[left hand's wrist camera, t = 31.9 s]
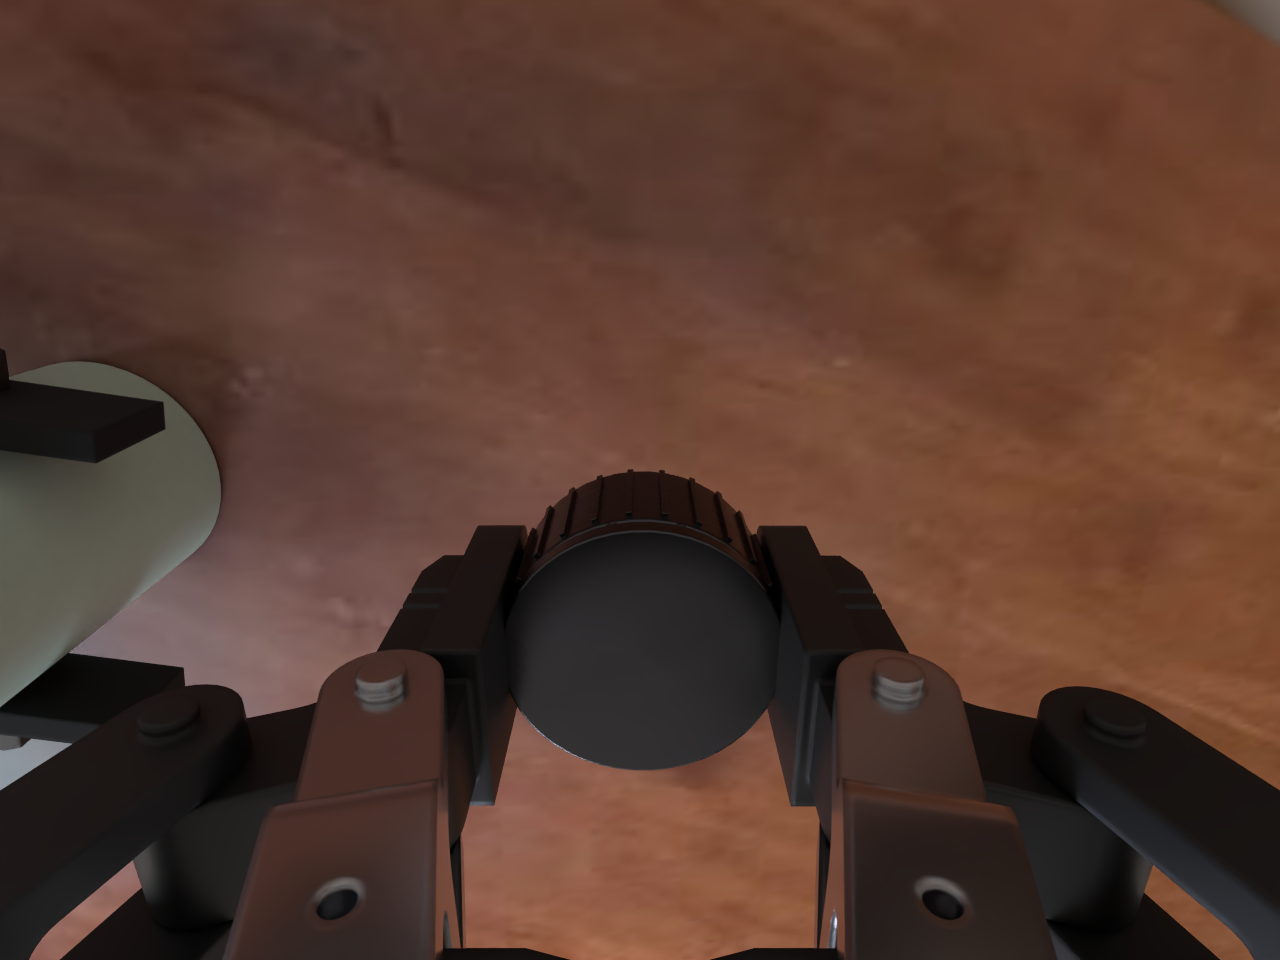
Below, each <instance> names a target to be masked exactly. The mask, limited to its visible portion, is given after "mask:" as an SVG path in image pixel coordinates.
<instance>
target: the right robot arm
mask: <svg viewBox="0 0 1280 960" xmlns="http://www.w3.org/2000/svg"><path fill="white" fill-rule="evenodd" d="M165 429H166V427H165V414H164V402H162V401H155V400H148V399H141V398H134V397H127V396H120V395H113V394H106V393H99V392H92V391H85V390H78V389H71V388H64V387H57V386H50V385H43V384H36V383H29V382H22V381H15V380H9V374H8V367H7V360H6V354H5V351H4V350H2V349H0V450H2V451H9V452H16V453H23V454H31V455H38V456H45V457H52V458H60V459H67V460H74V461H81V462H88V463H98V462H100V461H103V460H105V459H107V458H109V457H111V456H113V455H115V454H117V453H119V452H121V451H123V450H125V449H127V448H129V447H131V446H133V445H135V444H137V443H139V442H141V441H143V440H145V439H147V438H149V437H151V436H153V435H155V434H157V433H159V432H161V431H163V430H165ZM180 687H185V679H184V668H182V667H174V666H167V665H159V664H151V663H143V662H135V661H127V660H119V659H111V658H104V657H96V656H88V655H80V654H72V653H67V654H66V655H65V656H64V657H62V658H61V659H60V660H58V661H57V662H56V663H55V664H53V665H52V666H51V667H50V668H48V669H47V670H46V671H45V672H43V673H42V674H41V675H40V676H38V677H37V678H36V679H35V680H33V681H32V682H31V683H30V684H28V685H27V686H26V687H25V688H23V689H22V690H21V691H20V692H18V693H17V694H16V695H15V696H13V697H12V698H11V699H10V700H8V701H7V702H6V703H5V704H3V705H2V706H1V707H0V750H9V749H14V748H19V747H22V746H23V745H24V744H26V743H27V742H28V741H29V740H30V739H39V740H48V741H56V742H64V743H72V744H73V743H75V742H76V741H78V740H79V739H81V738H83V737H84V736H86V735H87V734H89V733H90V732H92V731H93V730H95V729H97V728H98V727H100V726H101V725H103V724H104V723H106V722H107V721H109V720H111V719H112V718H114V717H115V716H117V715H118V714H120V713H121V712H123V711H124V710H126V709H128V708H129V707H131V706H133V705H135V704H136V703H138V702H140V701H142V700H145V699H147V698H149V697H151V696H154V695H156V694H159V693H162V692H165V691H168V690H172V689H176V688H180Z"/></svg>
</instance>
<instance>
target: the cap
mask: <svg viewBox="0 0 1280 960" xmlns="http://www.w3.org/2000/svg"><path fill="white" fill-rule="evenodd" d="M514 582H516V586H515V589H514V592H513V595H512V599H511V602H510V605H509V609H508V612H507V615H506V618H505V622H504V632H505V646H506V659H507V672H508V685H509V691H510V693H511V696H512V698H513V700H514V701H515V703H516V705H517V706H518V708H519V710H520V711H521V713H522V714H523V715H524V716H525V718H526V719H527V720H528V721H529V723H530V724H531V725H532V726H533V727H534V728H535V729H536V730H537V731H538V732H539V733H540V734H541V735H543V736H544V737H545V738H547V739H548V740H549V741H551V742H552V743H553V744H554V745H556V746H558V747H560V748H561V749H563V750H565V751H566V752H568V753H570V754H572V755H574V756H577V757H579V758H581V759H583V760H586V761H589V762H592V763H596V764H599V765H602V766H607V767H612V768H617V769H626V770H659V769H668V768H673V767H678V766H682V765H687V764H690V763H693V762H696V761H699V760H702V759H704V758H706V757H708V756H711V755H713V754H715V753H717V752H719V751H721V750H722V749H724V748H726V747H727V746H729V745H730V744H732V743H733V742H735V741H736V740H737V739H738V738H740V737H741V736H742V735H744V734H745V733H746V732H747V731H748V730H749V729H750V728H751V727H752V726H753V725H754V724H755V723H756V722H757V720H758V719H759V718H760V717H761V715H762V714H763V713H764V711H765V710H766V709H767V707H768V705H769V703H770V702H771V700H772V698H773V696H774V694H775V689H776V677H777V664H778V652H779V639H780V617H779V614H778V611H777V608H776V605H775V601H774V598H773V595H772V592H771V590H772V589H774V586H773V583H772V580H771V577H770V574H769V571H768V568H767V565H766V562H765V559H764V556H763V553H762V549H761V546H760V543H759V540H758V537H757V535H756V534H753V535H752V534H751V532H750V530H749V529H748V527H747V525H746V523H745V520H744V517H743V514H742V513H741V511H740V510H739V511H738V512H736V511H735V510H734V509H733V508H732V507H731V506H730V505H729V504H728V503H727V502H726V501H725V500H724V499H722V495H721V493H719V492H718V491H717V492H716V493H714V492H712V491H711V490H709V489H707V488H705V487H703V486H702V485H700V484H698V483H695V479H693V478H691V477H690V478H689V480H688V479H685V478H682V477H679V476H675V475H670V474H666V473H665V471H664V470H659V473H657V472H633V469H629V470H628V471H627V473H618V474H613V475H610V476H607V477H603V476H602V475H600V476H597V480H595V481H592V482H589V483H587V484H585V485H583V486H581V487H579V488H578V489H576V490H575V488H574V487H573V488H572V489H570V490H569V494H568V495H567V496H565V497H564V498H563V499H561V500H560V501H559V502H558V503H557V504H556V505H555V506H554V507H552V506H549V507H548V508H547V509H546V513H545V516H544V518H543V519H542V520H541V522H540V523H539V525H538V526H537V528H536V529H534V528H532V529H531V531H530V534H529V537H528V540H527V543H526V546H525V549H524V553H523V556H522V559H521V562H520V565H519V568H518V572H517V575H516V578H515V581H514Z"/></svg>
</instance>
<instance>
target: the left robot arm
mask: <svg viewBox="0 0 1280 960" xmlns="http://www.w3.org/2000/svg"><path fill="white" fill-rule="evenodd" d="M757 537H758V540H759V543H760V546H761V549H762V553H763V556H764V559H765V562H766V565H767V568H768V571H769V574H770V577H771V580H772V583H773V586H774V589H772V590H771V592H772V595H773V598H774V601H775V605H776V608H777V611H778V614H779V617H780V639H779V652H778V664H777V677H776V689H775V694H774V696H773V698H772V700H771V702H770V703H769V705H768V707H767V709H768V713H769V717H770V722H771V726H772V730H773V734H774V738H775V742H776V746H777V751H778V755H779V759H780V763H781V767H782V771H783V775H784V780H785V784H786V788H787V792H788V796H789V800H790V804H791V806H816V809H817V812H818V816H819V819H820V824H819V833H818V842H817V851H816V887H815V924H814V948H753V949H749V950H746V951H742V952H738V953H734V954H730V955H726V956H723V957H719V958H715V959H711V960H1220V959H1219V958H1218V957H1216V956H1215V955H1214V954H1213V953H1212V952H1211V951H1210V950H1209V949H1207V948H1206V947H1205V946H1204V945H1203V944H1202V943H1201V942H1199V941H1198V940H1197V939H1196V938H1195V937H1194V936H1193V935H1191V934H1190V933H1189V932H1188V931H1187V930H1186V929H1185V928H1184V927H1182V926H1181V925H1180V924H1179V923H1178V922H1177V921H1176V920H1174V919H1173V918H1172V917H1171V916H1170V915H1169V914H1168V913H1166V912H1165V911H1164V910H1163V909H1162V908H1161V907H1160V906H1159V905H1157V904H1156V903H1155V902H1154V901H1153V900H1152V899H1151V898H1149V897H1148V896H1147V895H1146V894H1145V893H1144V890H1145V887H1146V884H1147V881H1148V878H1149V875H1150V872H1151V869H1152V866H1153V865H1154V866H1155V867H1156V868H1158V869H1159V870H1160V871H1161V872H1162V873H1164V874H1165V875H1166V876H1167V877H1168V878H1170V879H1171V880H1172V881H1173V882H1174V883H1176V884H1177V885H1178V886H1179V887H1180V888H1182V889H1183V890H1184V891H1185V892H1186V893H1188V894H1189V895H1190V896H1191V897H1192V898H1194V899H1195V900H1196V901H1197V902H1198V903H1200V904H1201V905H1202V906H1203V907H1204V908H1206V909H1207V910H1208V911H1209V912H1210V913H1211V914H1213V915H1214V916H1215V917H1216V918H1217V919H1219V920H1220V921H1221V922H1222V923H1223V924H1225V925H1226V926H1227V927H1228V928H1229V929H1230V930H1231V931H1233V932H1234V933H1235V934H1236V935H1237V937H1238V938H1239V939H1240V940H1241V941H1242V942H1243V944H1244V945H1245V946H1246V948H1247V949H1248V950H1249V952H1250V954H1251V955H1252V957H1253V958H1254V960H1280V790H1278V789H1277V788H1275V787H1273V786H1272V785H1270V784H1269V783H1267V782H1266V781H1264V780H1263V779H1261V778H1259V777H1258V776H1256V775H1255V774H1253V773H1252V772H1250V771H1249V770H1247V769H1246V768H1244V767H1242V766H1241V765H1239V764H1238V763H1236V762H1235V761H1233V760H1232V759H1230V758H1228V757H1227V756H1225V755H1224V754H1222V753H1221V752H1219V751H1218V750H1216V749H1214V748H1213V747H1211V746H1210V745H1208V744H1207V743H1205V742H1204V741H1202V740H1201V739H1199V738H1197V737H1196V736H1194V735H1193V734H1191V733H1190V732H1188V731H1187V730H1185V729H1183V728H1182V727H1180V726H1179V725H1177V724H1176V723H1174V722H1173V721H1171V720H1170V719H1168V718H1166V717H1165V716H1163V715H1162V714H1160V713H1159V712H1157V711H1155V710H1154V709H1152V708H1150V707H1149V706H1147V705H1145V704H1143V703H1141V702H1139V701H1136V700H1134V699H1132V698H1129V697H1127V696H1124V695H1121V694H1118V693H1115V692H1111V691H1107V690H1103V689H1098V688H1091V687H1079V686H1074V687H1064V688H1059V689H1056V690H1053V691H1050V692H1049V693H1048V694H1046V695H1045V696H1044V697H1043V698H1042V700H1041V703H1040V706H1039V710H1038V714H1037V719H1036V718H1031V717H1026V716H1021V715H1016V714H1011V713H1006V712H1001V711H996V710H991V709H987V708H983V707H979V706H976V705H973V704H970V703H967V702H964V701H963V700H962V696H961V692H960V689H959V687H958V685H957V683H956V682H955V680H954V679H953V678H952V677H951V676H950V675H949V674H948V673H947V672H946V671H944V670H943V669H942V668H941V667H939V666H937V665H936V664H934V663H932V662H930V661H928V660H926V659H924V658H921V657H919V656H916V655H913V654H909V652H908V650H907V649H906V647H905V645H904V643H903V642H902V640H901V638H900V636H899V635H898V633H897V631H896V629H895V628H894V626H893V624H892V622H891V621H890V619H889V617H888V616H887V614H886V612H885V610H884V609H882V605H881V603H880V602H879V600H878V598H877V596H876V595H875V594H873V589H872V588H871V586H870V584H869V582H868V581H867V579H866V577H865V575H864V574H863V572H862V571H861V570H859V569H858V568H857V567H855V566H854V565H852V564H851V563H850V562H848V561H847V560H845V559H844V558H842V557H841V556H820V553H819V551H818V549H817V547H816V545H815V543H814V541H813V539H812V537H811V535H810V533H809V531H808V529H807V527H806V526H759V527H758V530H757ZM527 540H528V535H527V530H526V527H525V525H479V526H478V527H477V528H476V531H475V533H474V535H473V537H472V539H471V541H470V543H469V545H468V548H467V550H466V552H465V554H464V555H444V556H442V557H441V558H440V559H438V560H437V561H435V562H434V563H433V564H431V565H430V566H428V567H427V568H426V569H424V570H423V571H422V572H421V574H420V575H419V577H418V579H417V581H416V583H415V584H414V586H413V588H412V593H409V595H408V597H407V599H406V600H405V602H404V604H403V609H400V611H399V613H398V615H397V616H396V618H395V620H394V622H393V624H392V625H391V627H390V629H389V631H388V632H387V634H386V636H385V638H384V640H383V641H382V643H381V645H380V647H379V648H378V650H377V652H375V653H371V654H367V655H364V656H361V657H359V658H356V659H354V660H352V661H350V662H348V663H346V664H344V665H343V666H341V667H339V668H338V669H337V670H336V671H334V672H333V673H332V674H331V675H330V676H329V677H328V678H327V679H326V680H325V682H324V683H323V685H322V687H321V689H320V692H319V696H318V700H317V703H314V704H311V705H308V706H304V707H299V708H295V709H290V710H286V711H281V712H276V713H271V714H266V715H261V716H256V717H251V718H246V713H245V709H244V705H243V701H242V698H241V697H240V696H239V694H238V693H237V692H235V691H234V690H232V689H230V688H227V687H224V686H219V685H207V684H206V685H192V686H185V687H180V688H176V689H172V690H168V691H165V692H162V693H159V694H156V695H154V696H151V697H149V698H147V699H145V700H142V701H140V702H138V703H136V704H135V705H133V706H131V707H129V708H128V709H126V710H124V711H123V712H121V713H120V714H118V715H117V716H115V717H114V718H112V719H111V720H109V721H107V722H106V723H104V724H103V725H101V726H100V727H98V728H97V729H95V730H93V731H92V732H90V733H89V734H87V735H86V736H84V737H83V738H81V739H79V740H78V741H76V742H75V743H73V744H72V745H70V746H69V747H67V748H66V749H64V750H62V751H61V752H59V753H58V754H56V755H55V756H53V757H52V758H50V759H48V760H47V761H45V762H44V763H42V764H41V765H39V766H38V767H36V768H35V769H33V770H31V771H30V772H28V773H27V774H25V775H24V776H22V777H21V778H19V779H17V780H16V781H14V782H13V783H11V784H10V785H8V786H7V787H5V788H3V789H2V790H0V960H29V958H30V956H31V954H32V952H33V951H34V949H35V948H36V946H37V945H38V943H39V942H40V941H41V939H42V938H43V937H44V936H45V935H46V933H47V932H48V931H49V930H50V929H51V928H52V927H53V926H54V925H56V924H57V923H58V922H59V921H60V920H61V919H63V918H64V917H65V916H66V915H67V914H69V913H70V912H71V911H72V910H73V909H75V908H76V907H77V906H78V905H79V904H80V903H82V902H83V901H84V900H85V899H86V898H88V897H89V896H90V895H91V894H92V893H94V892H95V891H96V890H97V889H98V888H100V887H101V886H102V885H103V884H104V883H106V882H107V881H108V880H109V879H110V878H112V877H113V876H114V875H115V874H116V873H118V872H119V871H120V870H121V869H122V868H124V867H125V866H126V865H127V864H128V863H130V862H131V861H132V860H133V862H134V865H135V868H136V871H137V874H138V877H139V880H140V883H141V886H142V888H141V889H140V890H139V891H137V892H136V893H135V894H134V895H133V896H132V897H131V898H129V899H128V900H127V901H126V902H125V903H124V904H123V905H121V906H120V907H119V908H118V909H117V910H116V911H115V912H114V913H112V914H111V915H110V916H109V917H108V918H107V919H106V920H104V921H103V922H102V923H101V924H100V925H99V926H98V927H96V928H95V929H94V930H93V931H92V932H91V933H90V934H89V935H87V936H86V937H85V938H84V939H83V940H82V941H81V942H79V943H78V944H77V945H76V946H75V947H74V948H73V949H72V950H70V951H69V952H68V953H67V954H66V955H65V956H64V957H62V958H61V959H60V960H569V959H565V958H561V957H557V956H553V955H550V954H546V953H542V952H538V951H534V950H531V949H527V948H466V924H465V888H464V851H463V842H462V833H461V832H462V830H463V827H464V824H465V820H466V816H467V813H468V809H469V805H494V804H495V799H496V795H497V791H498V787H499V782H500V778H501V774H502V769H503V765H504V761H505V757H506V752H507V748H508V744H509V739H510V735H511V731H512V727H513V722H514V718H515V714H516V709H517V705H516V703H515V701H514V700H513V698H512V696H511V693H510V691H509V685H508V672H507V659H506V646H505V632H504V622H505V618H506V615H507V612H508V609H509V605H510V602H511V599H512V595H513V592H514V589H515V586H516V582H514V581H515V578H516V575H517V572H518V568H519V565H520V562H521V559H522V556H523V553H524V549H525V546H526V543H527Z"/></svg>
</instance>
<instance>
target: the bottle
mask: <svg viewBox="0 0 1280 960" xmlns="http://www.w3.org/2000/svg"><path fill="white" fill-rule="evenodd" d="M9 380H15V381H22V382H29V383H36V384H43V385H50V386H57V387H64V388H71V389H78V390H85V391H92V392H99V393H106V394H113V395H120V396H127V397H134V398H141V399H148V400H155V401H162V402H164V414H165V427H166V429H165V430H163V431H161V432H159V433H157V434H155V435H153V436H151V437H149V438H147V439H145V440H143V441H141V442H139V443H137V444H135V445H133V446H131V447H129V448H127V449H125V450H123V451H121V452H119V453H117V454H115V455H113V456H111V457H109V458H107V459H105V460H103V461H100V462H98V463H88V462H81V461H74V460H67V459H60V458H52V457H45V456H38V455H31V454H23V453H16V452H9V451H2V450H0V707H1V706H2V705H3V704H5V703H6V702H7V701H8V700H10V699H11V698H12V697H13V696H15V695H16V694H17V693H18V692H20V691H21V690H22V689H23V688H25V687H26V686H27V685H28V684H30V683H31V682H32V681H33V680H35V679H36V678H37V677H38V676H40V675H41V674H42V673H43V672H45V671H46V670H47V669H48V668H50V667H51V666H52V665H53V664H55V663H56V662H57V661H58V660H60V659H61V658H62V657H64V656H65V655H66V654H67V653H69V652H70V651H71V650H72V649H74V648H75V647H76V646H77V645H79V644H80V643H81V642H82V641H84V640H85V639H86V638H87V637H89V636H90V635H91V634H92V633H94V632H95V631H96V630H97V629H99V628H100V627H101V626H102V625H104V624H105V623H106V622H107V621H109V620H110V619H111V618H112V617H114V616H115V615H116V614H117V613H119V612H120V611H121V610H122V609H124V608H125V607H126V606H127V605H129V604H130V603H131V602H132V601H134V600H135V599H136V598H137V597H139V596H140V595H141V594H142V593H144V592H145V591H146V590H148V589H149V588H150V587H151V586H153V585H154V584H155V583H156V582H158V581H159V580H160V579H161V578H163V577H164V576H165V575H166V574H168V573H169V572H170V571H171V570H173V569H174V568H175V567H176V566H178V565H179V564H180V563H181V562H183V561H184V560H185V559H186V558H188V557H189V556H190V555H191V554H193V553H194V552H195V551H196V550H197V549H198V548H199V547H200V546H201V545H202V544H203V543H204V542H205V540H206V539H207V538H208V536H209V535H210V533H211V531H212V529H213V527H214V525H215V523H216V520H217V517H218V514H219V509H220V502H221V483H220V475H219V471H218V467H217V463H216V460H215V457H214V455H213V452H212V450H211V447H210V445H209V443H208V442H207V440H206V438H205V436H204V434H203V433H202V431H201V430H200V428H199V427H198V426H197V424H196V423H195V421H194V420H193V419H192V418H191V417H190V415H189V414H188V413H187V412H186V411H185V410H184V409H183V408H182V407H181V406H180V405H179V404H178V403H177V402H176V401H175V400H174V399H173V398H171V397H170V396H169V395H168V394H166V393H165V392H164V391H162V390H161V389H160V388H158V387H157V386H155V385H153V384H152V383H150V382H148V381H147V380H145V379H143V378H141V377H139V376H137V375H135V374H132V373H130V372H128V371H125V370H122V369H119V368H116V367H113V366H109V365H104V364H99V363H94V362H81V361H76V362H62V363H57V364H52V365H48V366H44V367H41V368H37V369H34V370H31V371H27V372H24V373H20V374H17V375H14V376H10V377H9Z"/></svg>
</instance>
